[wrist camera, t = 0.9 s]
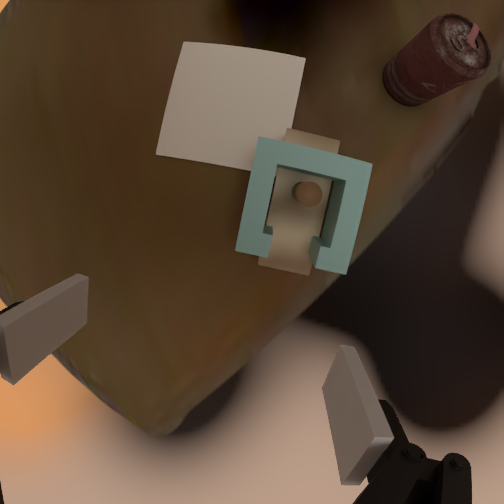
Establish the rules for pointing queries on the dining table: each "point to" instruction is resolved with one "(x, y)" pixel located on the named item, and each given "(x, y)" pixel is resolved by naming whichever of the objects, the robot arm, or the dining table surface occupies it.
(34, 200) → the dining table surface
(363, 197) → the c link
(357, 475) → the robot arm
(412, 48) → the can
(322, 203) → the hook stand
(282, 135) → the felt mat
